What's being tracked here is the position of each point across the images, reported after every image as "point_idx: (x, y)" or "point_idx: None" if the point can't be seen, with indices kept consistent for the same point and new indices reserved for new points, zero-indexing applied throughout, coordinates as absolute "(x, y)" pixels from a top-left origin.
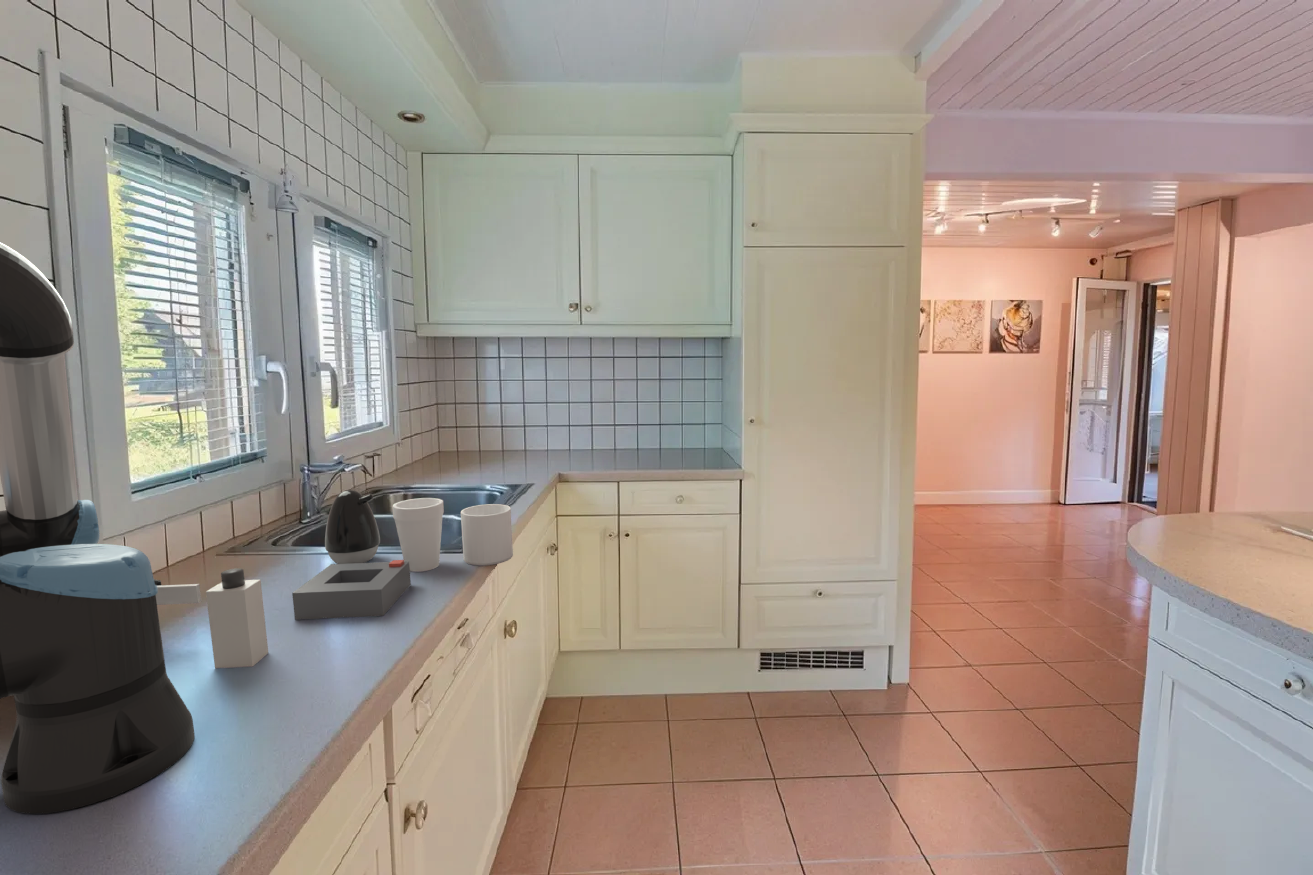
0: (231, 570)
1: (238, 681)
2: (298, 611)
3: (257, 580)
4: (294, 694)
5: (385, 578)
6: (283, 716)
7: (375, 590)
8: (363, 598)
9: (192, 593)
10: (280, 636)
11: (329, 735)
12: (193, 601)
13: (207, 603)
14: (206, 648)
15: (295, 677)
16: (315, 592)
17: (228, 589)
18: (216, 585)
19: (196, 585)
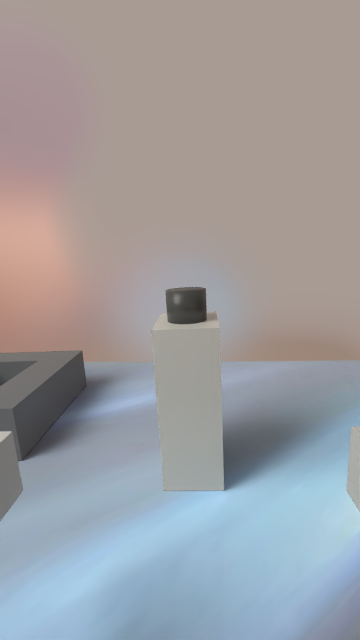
0: (178, 290)
1: (268, 440)
2: (24, 440)
3: (165, 314)
4: (288, 390)
5: (36, 354)
6: (331, 384)
7: (78, 354)
8: (73, 370)
9: (8, 467)
10: (101, 453)
11: (342, 361)
12: (13, 496)
13: (220, 355)
14: (104, 566)
15: (250, 399)
16: (37, 388)
17: (209, 318)
18: (180, 329)
19: (10, 431)
